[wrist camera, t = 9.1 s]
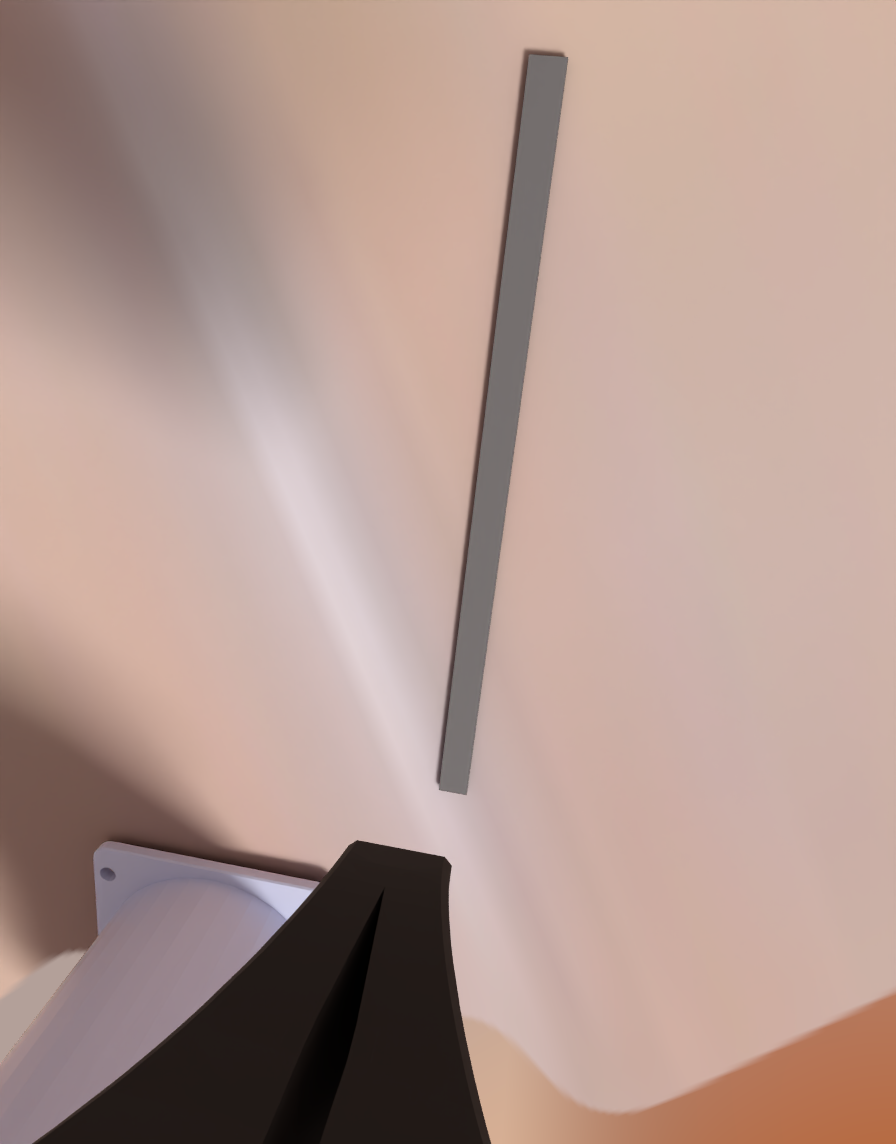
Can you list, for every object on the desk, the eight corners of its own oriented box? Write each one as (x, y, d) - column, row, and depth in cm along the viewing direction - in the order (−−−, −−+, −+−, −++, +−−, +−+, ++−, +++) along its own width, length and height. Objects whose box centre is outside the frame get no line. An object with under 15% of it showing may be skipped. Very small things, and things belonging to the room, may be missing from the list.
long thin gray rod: (466, 791, 21) (466, 795, 21) (439, 786, 21) (438, 789, 21) (567, 60, 15) (567, 57, 15) (529, 56, 15) (529, 53, 15)
